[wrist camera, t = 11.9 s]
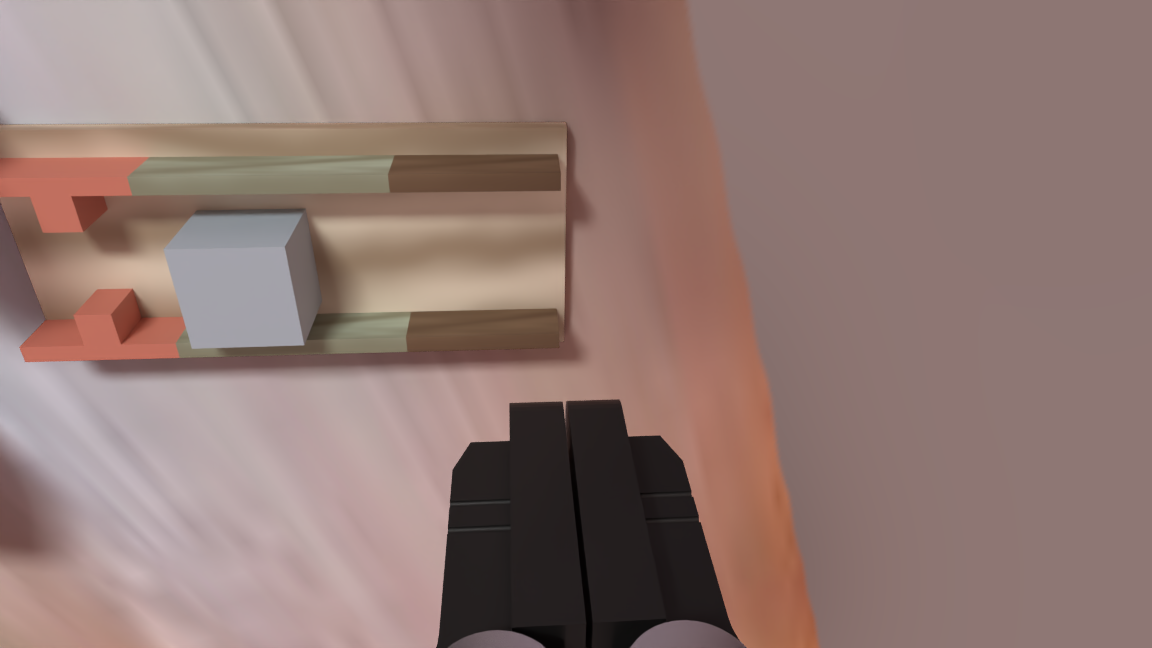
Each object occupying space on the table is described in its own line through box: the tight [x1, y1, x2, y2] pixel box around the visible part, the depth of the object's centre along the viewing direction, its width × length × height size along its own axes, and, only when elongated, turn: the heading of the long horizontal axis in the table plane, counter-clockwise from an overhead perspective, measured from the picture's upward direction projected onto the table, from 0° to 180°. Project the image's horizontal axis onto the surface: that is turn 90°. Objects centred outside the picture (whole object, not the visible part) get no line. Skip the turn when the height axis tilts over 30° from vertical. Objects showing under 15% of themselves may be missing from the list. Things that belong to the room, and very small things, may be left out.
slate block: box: [163, 209, 322, 349], centre depth 44 cm, size 6×6×5 cm
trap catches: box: [0, 157, 186, 362], centre depth 43 cm, size 11×8×3 cm
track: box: [0, 122, 567, 358], centre depth 45 cm, size 14×31×4 cm, turn 89°
